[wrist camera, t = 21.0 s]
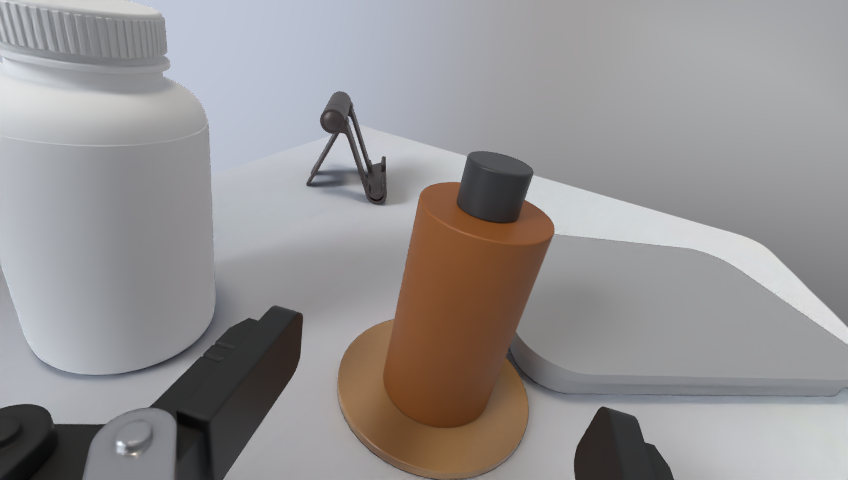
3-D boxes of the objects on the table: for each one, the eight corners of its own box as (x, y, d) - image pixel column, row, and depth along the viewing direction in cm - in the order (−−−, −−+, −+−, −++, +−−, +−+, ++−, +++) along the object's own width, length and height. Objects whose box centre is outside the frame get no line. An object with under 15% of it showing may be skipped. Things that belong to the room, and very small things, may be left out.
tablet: (456, 247, 36) (462, 224, 35) (700, 270, 42) (712, 250, 41) (522, 403, 22) (536, 373, 21) (875, 404, 28) (900, 381, 27)
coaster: (300, 436, 18) (301, 429, 18) (373, 305, 27) (374, 299, 26) (526, 513, 17) (530, 506, 17) (525, 350, 26) (528, 344, 25)
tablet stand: (384, 206, 40) (398, 121, 36) (302, 195, 39) (307, 105, 35) (384, 174, 48) (395, 101, 44) (314, 164, 46) (320, 87, 43)
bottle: (367, 405, 19) (413, 162, 14) (400, 331, 24) (444, 130, 19) (483, 444, 19) (581, 207, 13) (492, 360, 24) (566, 161, 18)
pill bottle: (119, 409, 17) (28, 9, 10) (-16, 339, 19) (-174, -48, 12) (249, 308, 24) (247, 26, 17) (142, 263, 26) (100, -12, 19)
